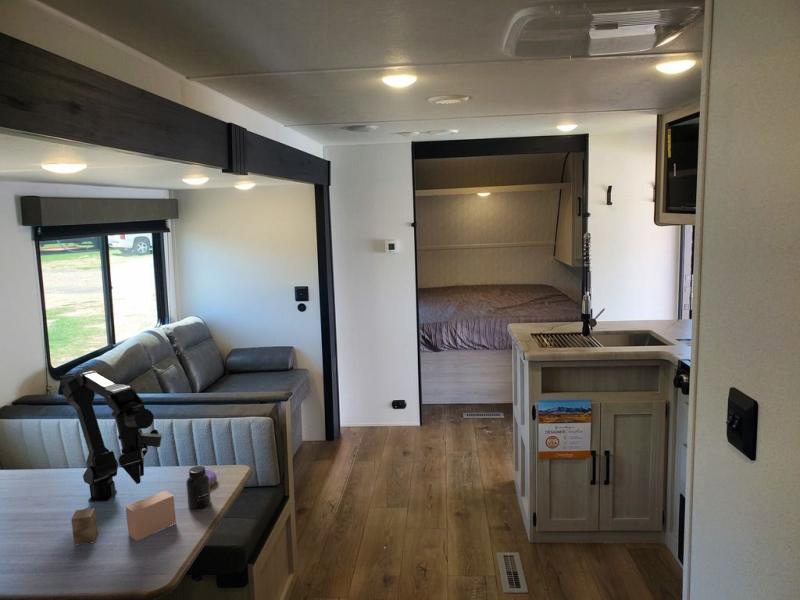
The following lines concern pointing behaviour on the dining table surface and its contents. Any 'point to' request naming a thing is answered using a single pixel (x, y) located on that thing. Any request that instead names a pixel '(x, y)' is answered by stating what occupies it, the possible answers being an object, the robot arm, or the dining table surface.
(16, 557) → the dining table surface
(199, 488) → the supplement bottle
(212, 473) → the donut
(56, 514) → the dining table surface
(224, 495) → the dining table surface
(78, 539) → the walnut block
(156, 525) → the terracotta block
